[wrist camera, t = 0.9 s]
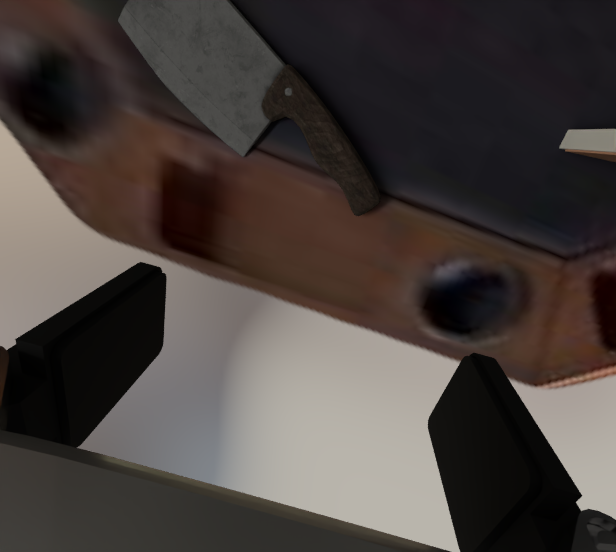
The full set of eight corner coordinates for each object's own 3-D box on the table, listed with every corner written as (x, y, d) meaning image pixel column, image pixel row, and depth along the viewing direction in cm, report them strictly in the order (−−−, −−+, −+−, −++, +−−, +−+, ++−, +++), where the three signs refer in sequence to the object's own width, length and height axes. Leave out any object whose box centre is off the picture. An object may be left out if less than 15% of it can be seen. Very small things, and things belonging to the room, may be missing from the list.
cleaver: (399, 179, 33) (402, 182, 31) (332, 244, 37) (330, 250, 35) (165, -69, 28) (151, -84, 26) (114, 37, 31) (98, 30, 29)
